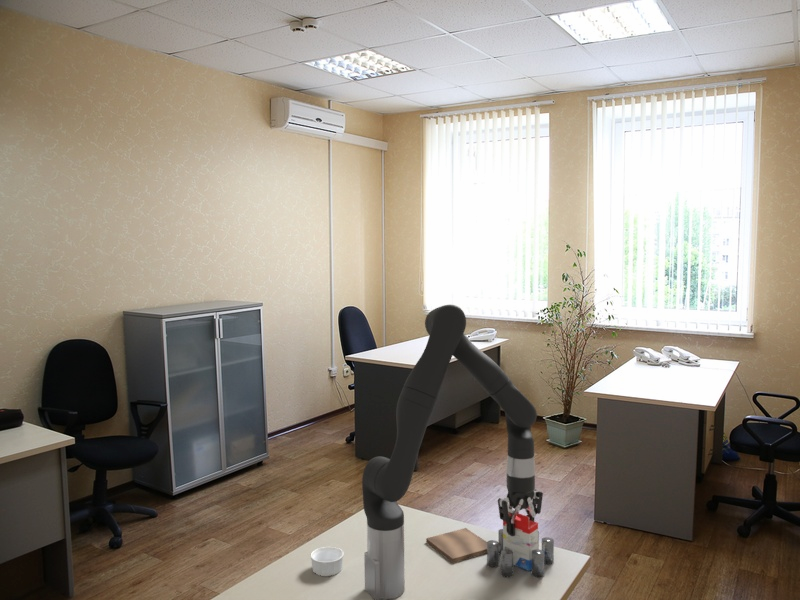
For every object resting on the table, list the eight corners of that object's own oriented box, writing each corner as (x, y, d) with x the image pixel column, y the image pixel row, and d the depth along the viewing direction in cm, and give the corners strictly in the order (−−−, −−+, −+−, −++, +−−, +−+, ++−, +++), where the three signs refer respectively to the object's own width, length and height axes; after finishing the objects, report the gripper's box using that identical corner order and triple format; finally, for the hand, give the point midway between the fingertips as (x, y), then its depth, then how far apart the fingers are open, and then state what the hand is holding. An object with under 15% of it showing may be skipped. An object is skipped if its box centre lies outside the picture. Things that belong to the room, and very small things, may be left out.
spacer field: (516, 586, 153) (516, 563, 153) (475, 557, 168) (475, 536, 168) (566, 568, 161) (566, 547, 161) (524, 542, 176) (524, 522, 176)
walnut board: (452, 563, 165) (452, 558, 165) (426, 542, 177) (426, 538, 177) (494, 550, 172) (494, 546, 171) (465, 531, 184) (465, 527, 184)
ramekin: (326, 558, 168) (326, 543, 168) (350, 567, 163) (350, 551, 163) (303, 571, 161) (303, 555, 161) (328, 581, 156) (328, 565, 156)
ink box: (538, 564, 164) (539, 511, 163) (529, 571, 160) (529, 517, 159) (511, 554, 169) (512, 503, 168) (502, 561, 166) (502, 508, 165)
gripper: (531, 463, 170) (531, 521, 171) (490, 472, 163) (490, 532, 164) (550, 471, 163) (550, 531, 164) (508, 480, 156) (508, 544, 157)
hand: (520, 532), depth 164 cm, fingers closed on ink box, 6 cm apart
